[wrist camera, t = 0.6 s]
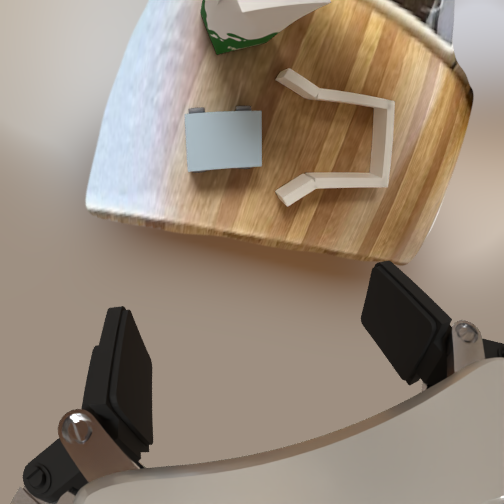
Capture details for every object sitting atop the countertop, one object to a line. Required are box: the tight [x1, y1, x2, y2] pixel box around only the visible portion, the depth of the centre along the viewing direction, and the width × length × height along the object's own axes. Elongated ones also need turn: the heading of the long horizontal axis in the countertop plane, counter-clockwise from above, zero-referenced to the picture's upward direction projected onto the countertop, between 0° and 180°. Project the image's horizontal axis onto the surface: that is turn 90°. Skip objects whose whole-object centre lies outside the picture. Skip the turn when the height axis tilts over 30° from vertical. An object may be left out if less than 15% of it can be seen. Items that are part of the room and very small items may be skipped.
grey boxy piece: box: [185, 106, 262, 173], centre depth 33 cm, size 8×9×4 cm
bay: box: [275, 68, 395, 207], centre depth 37 cm, size 19×18×4 cm
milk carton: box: [201, 0, 331, 55], centre depth 19 cm, size 9×9×20 cm
